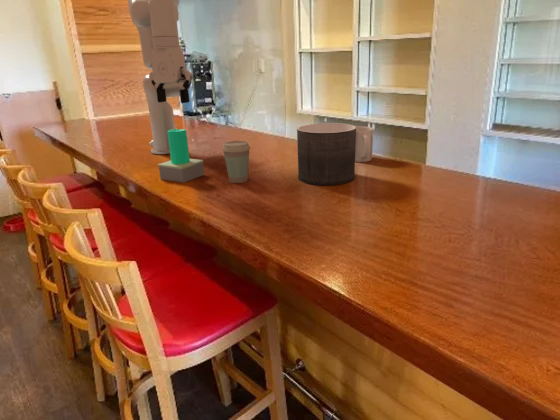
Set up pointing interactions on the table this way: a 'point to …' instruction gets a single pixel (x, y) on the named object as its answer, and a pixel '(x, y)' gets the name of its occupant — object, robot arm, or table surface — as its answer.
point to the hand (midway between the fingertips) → (173, 102)
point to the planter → (326, 153)
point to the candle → (178, 146)
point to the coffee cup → (237, 160)
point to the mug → (364, 144)
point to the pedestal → (181, 170)
